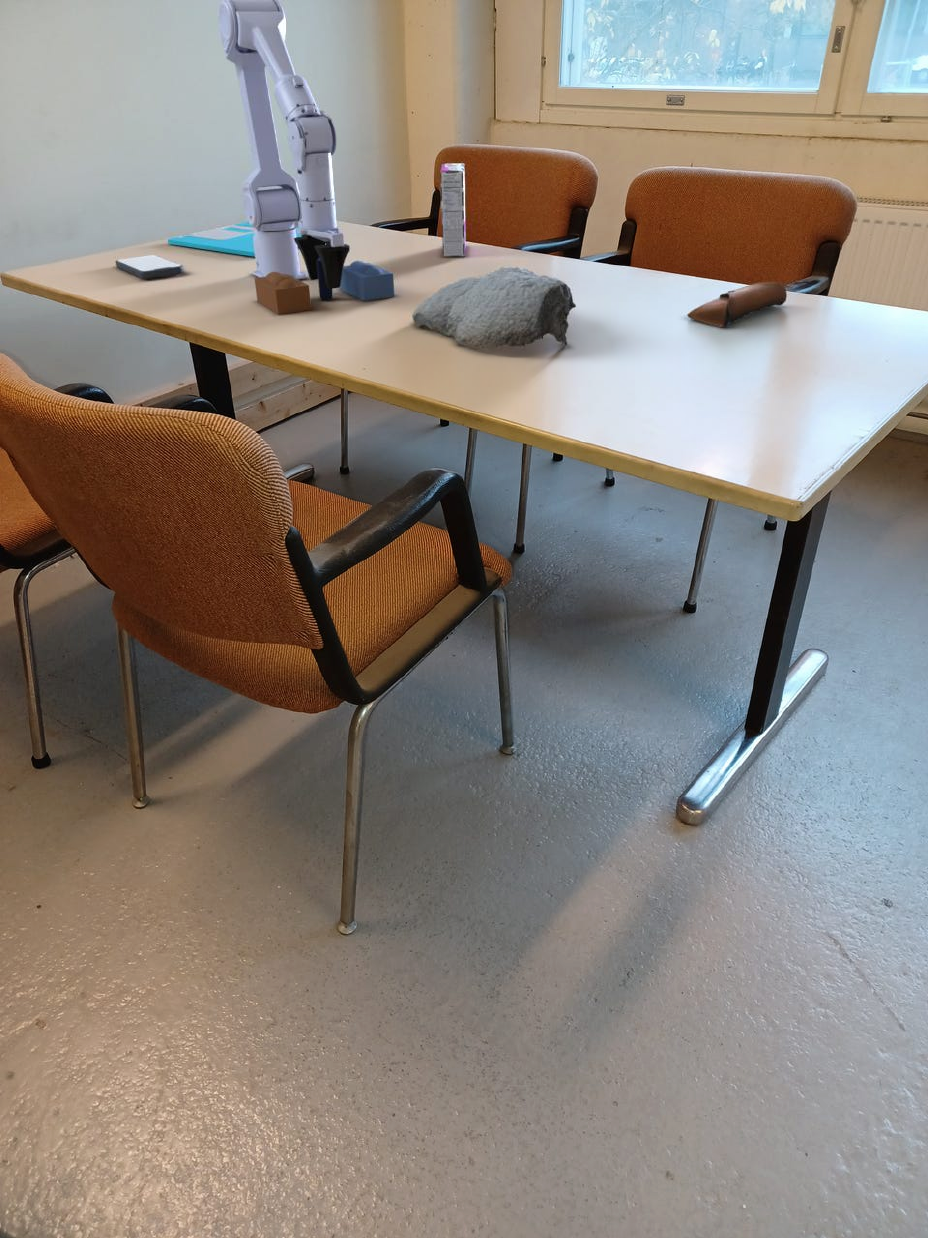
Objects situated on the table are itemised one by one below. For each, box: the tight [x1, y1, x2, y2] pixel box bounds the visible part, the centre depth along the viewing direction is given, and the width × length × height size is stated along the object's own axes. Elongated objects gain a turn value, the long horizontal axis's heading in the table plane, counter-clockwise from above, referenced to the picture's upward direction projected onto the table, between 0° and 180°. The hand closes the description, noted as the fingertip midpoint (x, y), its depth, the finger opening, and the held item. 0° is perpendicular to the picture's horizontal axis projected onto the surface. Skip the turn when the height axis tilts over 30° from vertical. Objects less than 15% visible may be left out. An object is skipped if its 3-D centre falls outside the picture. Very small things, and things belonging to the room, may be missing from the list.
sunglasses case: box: [686, 281, 788, 329], centre depth 146 cm, size 18×7×7 cm, turn 135°
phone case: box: [115, 254, 185, 280], centre depth 176 cm, size 9×2×16 cm
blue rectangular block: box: [339, 260, 395, 302], centre depth 159 cm, size 10×6×5 cm, turn 31°
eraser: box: [316, 258, 334, 302], centre depth 155 cm, size 2×2×7 cm
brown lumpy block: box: [254, 272, 312, 315], centre depth 152 cm, size 10×6×5 cm, turn 31°
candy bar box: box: [439, 162, 467, 258], centre depth 185 cm, size 11×5×16 cm, turn 179°
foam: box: [411, 266, 577, 349], centre depth 137 cm, size 28×21×9 cm
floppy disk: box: [167, 221, 302, 258], centre depth 200 cm, size 26×28×1 cm
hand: (325, 283), depth 155 cm, fingers open, 7 cm apart
